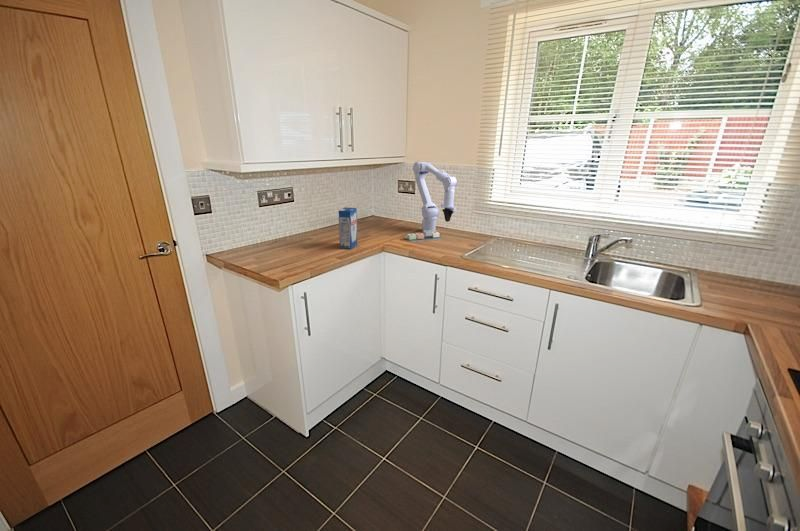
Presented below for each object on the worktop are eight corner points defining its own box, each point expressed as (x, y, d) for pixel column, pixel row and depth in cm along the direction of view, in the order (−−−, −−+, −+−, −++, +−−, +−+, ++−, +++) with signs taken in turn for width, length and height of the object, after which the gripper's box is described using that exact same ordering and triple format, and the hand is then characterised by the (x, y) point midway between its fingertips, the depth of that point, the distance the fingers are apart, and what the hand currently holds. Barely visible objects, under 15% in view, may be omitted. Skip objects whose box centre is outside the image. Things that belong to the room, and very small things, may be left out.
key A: (430, 235, 202) (430, 231, 201) (436, 235, 203) (436, 231, 202) (433, 237, 198) (433, 233, 197) (439, 237, 200) (439, 232, 199)
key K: (422, 234, 199) (422, 230, 199) (428, 233, 201) (428, 229, 200) (425, 236, 196) (425, 231, 195) (431, 235, 197) (432, 231, 197)
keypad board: (403, 238, 200) (403, 236, 199) (433, 236, 207) (433, 234, 207) (411, 244, 190) (411, 242, 189) (443, 241, 197) (443, 239, 197)
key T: (414, 237, 198) (414, 233, 197) (420, 236, 199) (421, 232, 199) (417, 239, 195) (417, 234, 194) (424, 238, 196) (424, 234, 195)
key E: (406, 237, 196) (407, 233, 195) (413, 237, 198) (413, 233, 197) (409, 239, 193) (409, 235, 192) (416, 239, 194) (416, 234, 193)
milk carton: (351, 249, 178) (350, 211, 171) (339, 248, 179) (338, 210, 172) (357, 244, 187) (356, 208, 180) (346, 243, 188) (345, 207, 181)
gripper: (436, 196, 202) (435, 219, 207) (449, 200, 190) (447, 224, 194) (447, 196, 205) (445, 218, 209) (460, 199, 192) (458, 223, 197)
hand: (447, 221), depth 202 cm, fingers closed
